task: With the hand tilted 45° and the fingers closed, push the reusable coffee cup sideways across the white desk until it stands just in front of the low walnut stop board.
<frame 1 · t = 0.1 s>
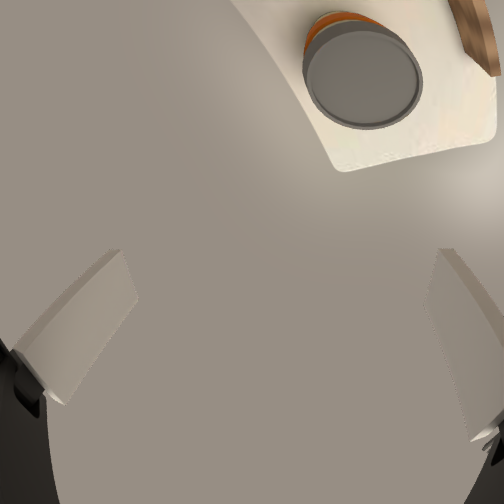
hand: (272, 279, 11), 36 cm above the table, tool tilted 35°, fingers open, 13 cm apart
stop board: (456, 7, 16), on the table
reusable coffee cup: (342, 37, 28), on the table
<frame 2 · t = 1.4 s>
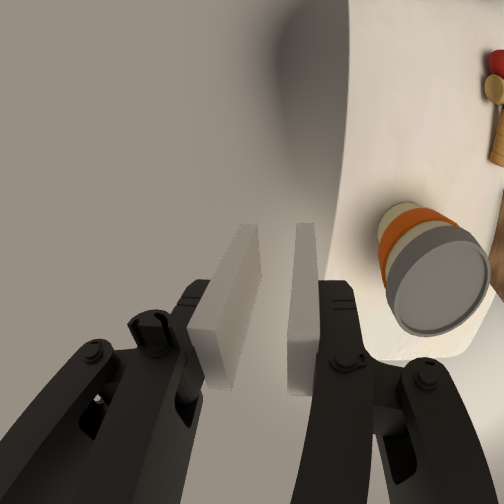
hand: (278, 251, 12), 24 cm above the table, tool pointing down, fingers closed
kendama: (496, 106, 23), on the table
stop board: (498, 234, 31), on the table
reusable coffee cup: (404, 231, 35), on the table
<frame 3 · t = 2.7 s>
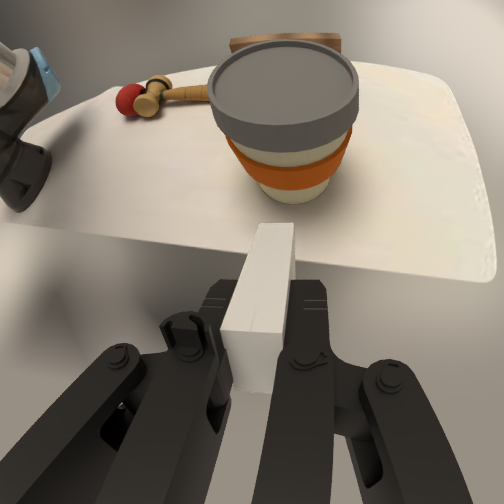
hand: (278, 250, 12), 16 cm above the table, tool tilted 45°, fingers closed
kendama: (168, 105, 41), on the table
stop board: (289, 75, 37), on the table
reusable coffee cup: (293, 172, 32), on the table
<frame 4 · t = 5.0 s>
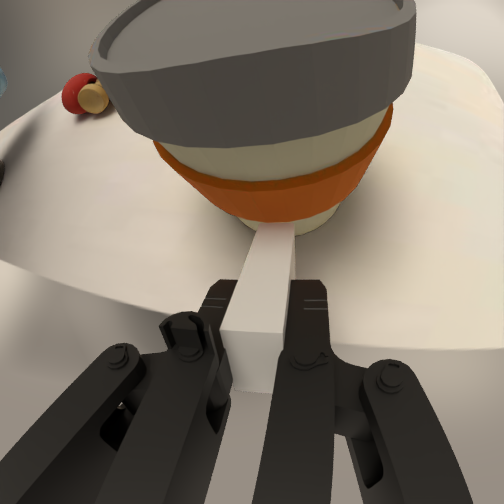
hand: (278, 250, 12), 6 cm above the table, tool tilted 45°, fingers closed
kendama: (125, 96, 29), on the table
reusable coffee cup: (284, 182, 20), on the table, touching gripper
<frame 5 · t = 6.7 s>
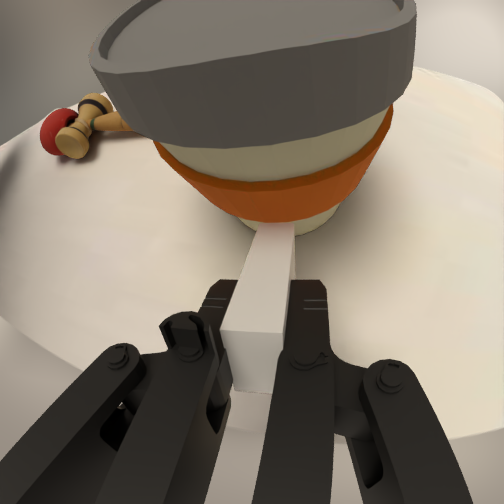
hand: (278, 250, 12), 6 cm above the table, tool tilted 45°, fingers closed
kendama: (108, 136, 27), on the table
reusable coffee cup: (284, 182, 20), on the table, touching gripper
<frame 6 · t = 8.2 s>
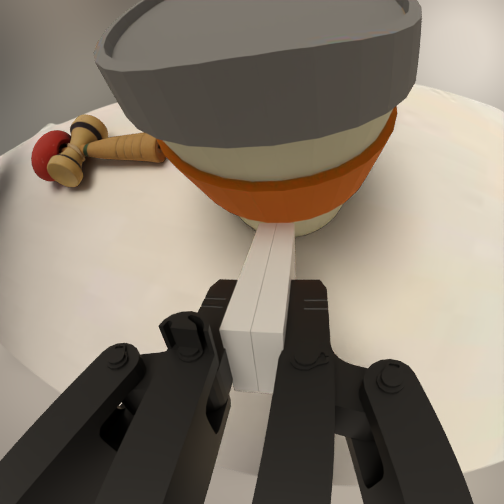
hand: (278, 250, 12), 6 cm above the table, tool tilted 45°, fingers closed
kendama: (103, 162, 26), on the table
reusable coffee cup: (287, 182, 20), on the table, touching gripper
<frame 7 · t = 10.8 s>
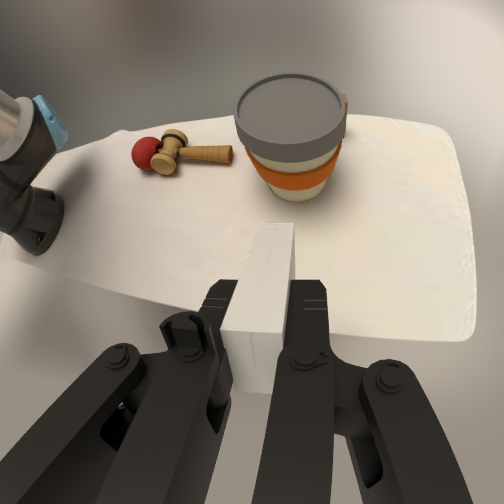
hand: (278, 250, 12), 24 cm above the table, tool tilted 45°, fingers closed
kendama: (185, 160, 45), on the table
reusable coffee cup: (296, 176, 40), on the table
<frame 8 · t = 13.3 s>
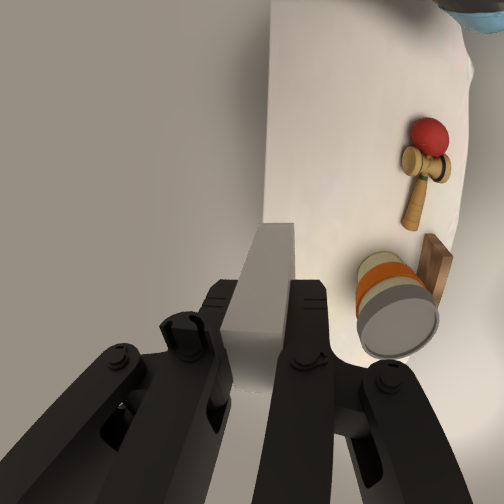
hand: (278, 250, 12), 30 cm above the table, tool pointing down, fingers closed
kendama: (417, 171, 36), on the table
stop board: (421, 273, 44), on the table
reusable coffee cup: (380, 273, 46), on the table
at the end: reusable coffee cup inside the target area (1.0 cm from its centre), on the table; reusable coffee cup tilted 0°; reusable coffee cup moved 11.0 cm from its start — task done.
